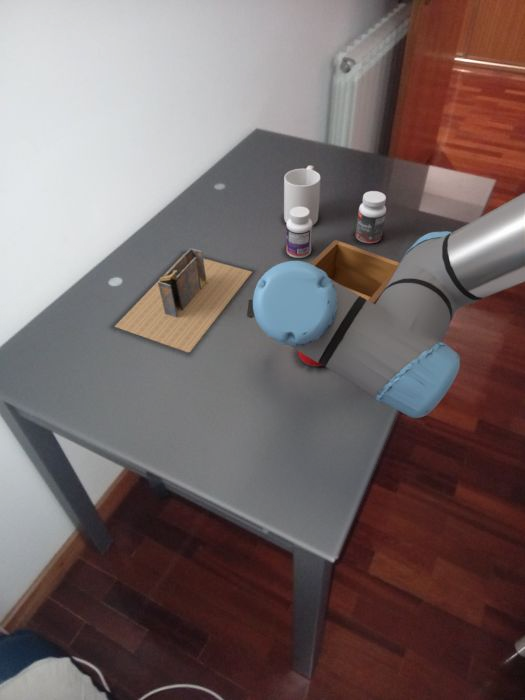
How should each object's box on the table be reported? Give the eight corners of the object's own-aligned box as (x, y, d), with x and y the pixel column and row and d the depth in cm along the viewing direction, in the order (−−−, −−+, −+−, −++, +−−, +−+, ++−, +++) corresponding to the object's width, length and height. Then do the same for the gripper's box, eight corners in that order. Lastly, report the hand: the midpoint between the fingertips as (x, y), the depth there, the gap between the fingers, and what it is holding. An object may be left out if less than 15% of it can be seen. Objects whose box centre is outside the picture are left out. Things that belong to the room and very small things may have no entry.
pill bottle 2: (350, 236, 109) (354, 195, 102) (367, 227, 112) (373, 186, 104) (369, 247, 106) (375, 206, 99) (386, 237, 108) (394, 196, 101)
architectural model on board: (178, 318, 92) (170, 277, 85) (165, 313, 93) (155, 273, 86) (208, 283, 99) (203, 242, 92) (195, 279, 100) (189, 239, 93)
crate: (395, 307, 93) (405, 264, 85) (366, 345, 86) (373, 302, 79) (331, 281, 99) (335, 239, 91) (298, 315, 92) (300, 272, 85)
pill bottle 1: (292, 241, 108) (292, 202, 101) (314, 247, 107) (317, 207, 100) (282, 255, 105) (282, 215, 98) (305, 261, 103) (307, 221, 96)
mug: (312, 231, 111) (315, 188, 103) (279, 225, 113) (279, 183, 105) (326, 204, 119) (329, 162, 111) (294, 199, 121) (295, 158, 113)
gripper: (201, 329, 60) (241, 331, 81) (412, 358, 55) (396, 353, 76) (209, 267, 59) (247, 286, 80) (422, 291, 55) (403, 305, 76)
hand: (319, 318), depth 78 cm, fingers open, 13 cm apart
